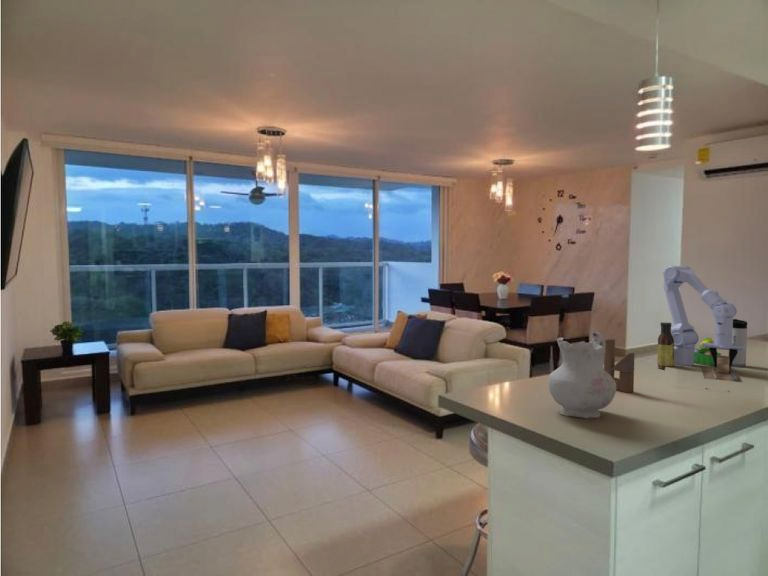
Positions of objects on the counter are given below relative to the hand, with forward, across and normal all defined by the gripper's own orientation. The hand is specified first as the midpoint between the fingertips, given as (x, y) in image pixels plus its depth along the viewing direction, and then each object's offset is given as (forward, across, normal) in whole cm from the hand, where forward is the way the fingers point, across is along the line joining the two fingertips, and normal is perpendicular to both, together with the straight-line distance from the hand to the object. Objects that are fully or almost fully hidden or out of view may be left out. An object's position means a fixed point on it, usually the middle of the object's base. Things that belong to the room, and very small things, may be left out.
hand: (722, 367), depth 201 cm
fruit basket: (+3, -5, +23) cm, 24 cm away
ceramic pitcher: (+3, -42, -76) cm, 87 cm away
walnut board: (+3, -1, -5) cm, 6 cm away
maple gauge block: (+2, 0, 0) cm, 2 cm away
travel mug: (+3, +7, +24) cm, 25 cm away
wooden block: (+3, -35, -42) cm, 55 cm away
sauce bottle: (+3, -20, +3) cm, 20 cm away
